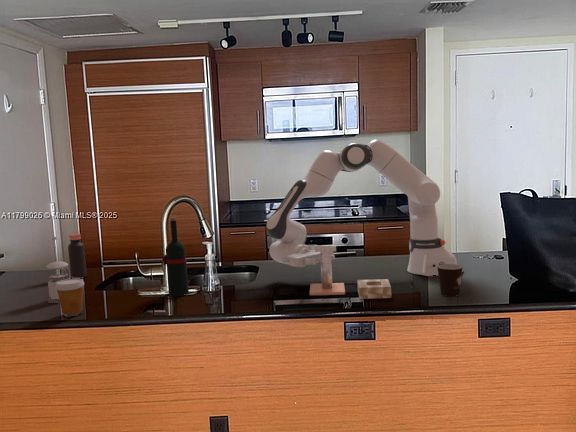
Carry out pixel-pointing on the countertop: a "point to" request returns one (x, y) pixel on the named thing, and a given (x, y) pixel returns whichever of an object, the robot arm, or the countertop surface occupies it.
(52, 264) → the french press
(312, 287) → the tile
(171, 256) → the wine bottle
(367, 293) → the socket block
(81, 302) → the glass of amber beer
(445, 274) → the coffee mug
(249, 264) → the countertop surface
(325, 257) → the t key
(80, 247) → the vinegar
